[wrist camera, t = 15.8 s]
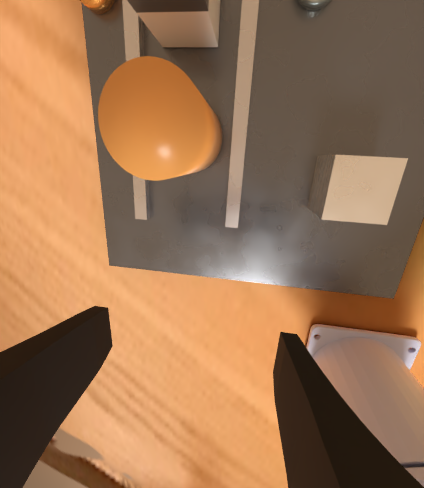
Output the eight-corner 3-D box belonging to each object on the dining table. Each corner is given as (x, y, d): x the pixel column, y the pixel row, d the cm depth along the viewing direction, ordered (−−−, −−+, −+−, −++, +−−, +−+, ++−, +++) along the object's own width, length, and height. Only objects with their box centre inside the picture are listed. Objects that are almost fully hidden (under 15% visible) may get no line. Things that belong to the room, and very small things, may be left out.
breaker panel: (378, 283, 17) (425, 328, 13) (122, 255, 20) (83, 284, 15) (509, -110, 11) (714, -322, 6) (94, -81, 13) (7, -216, 8)
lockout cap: (220, 174, 15) (202, 184, 9) (157, 170, 15) (104, 177, 9) (224, 100, 13) (207, 56, 8) (156, 98, 14) (91, 55, 8)
